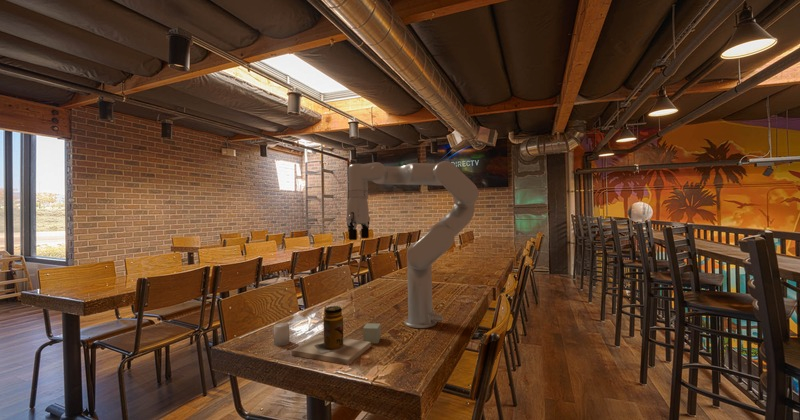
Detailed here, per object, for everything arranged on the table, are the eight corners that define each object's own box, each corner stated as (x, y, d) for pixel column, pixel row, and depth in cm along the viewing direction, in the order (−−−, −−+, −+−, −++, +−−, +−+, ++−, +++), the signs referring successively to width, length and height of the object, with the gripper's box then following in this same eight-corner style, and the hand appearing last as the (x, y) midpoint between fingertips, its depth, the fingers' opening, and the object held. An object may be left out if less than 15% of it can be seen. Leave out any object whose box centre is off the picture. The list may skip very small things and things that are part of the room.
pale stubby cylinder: (292, 341, 114) (292, 323, 114) (282, 346, 109) (282, 328, 109) (281, 339, 116) (280, 322, 116) (270, 344, 111) (270, 326, 111)
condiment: (348, 347, 104) (347, 308, 104) (321, 354, 99) (321, 313, 99) (339, 340, 110) (338, 303, 110) (313, 346, 105) (313, 308, 105)
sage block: (380, 338, 115) (380, 323, 115) (378, 343, 110) (377, 328, 110) (366, 337, 116) (366, 323, 116) (363, 343, 111) (363, 328, 111)
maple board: (370, 346, 108) (370, 341, 108) (348, 364, 95) (348, 359, 95) (318, 339, 115) (318, 334, 115) (291, 355, 102) (291, 350, 102)
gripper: (360, 196, 141) (361, 237, 141) (338, 194, 125) (339, 240, 124) (376, 196, 138) (377, 237, 138) (355, 194, 122) (356, 240, 122)
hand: (359, 238), depth 131 cm, fingers open, 9 cm apart
